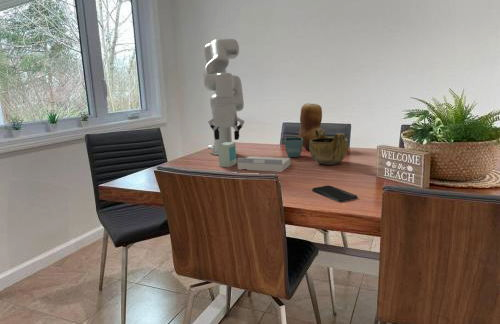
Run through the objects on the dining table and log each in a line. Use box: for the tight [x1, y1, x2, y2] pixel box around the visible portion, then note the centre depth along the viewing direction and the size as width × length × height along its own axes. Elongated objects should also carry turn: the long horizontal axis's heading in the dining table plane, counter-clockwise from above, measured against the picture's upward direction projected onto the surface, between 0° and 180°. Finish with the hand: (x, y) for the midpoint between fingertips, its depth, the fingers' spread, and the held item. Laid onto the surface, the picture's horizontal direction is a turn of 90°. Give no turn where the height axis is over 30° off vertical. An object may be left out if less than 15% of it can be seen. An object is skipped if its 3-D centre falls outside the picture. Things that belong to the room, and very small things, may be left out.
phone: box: [311, 185, 358, 203], centre depth 119 cm, size 8×1×15 cm
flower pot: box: [284, 137, 303, 158], centre depth 180 cm, size 9×9×9 cm
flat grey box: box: [237, 155, 291, 173], centre depth 160 cm, size 20×14×5 cm
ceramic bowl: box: [309, 128, 349, 166], centre depth 162 cm, size 22×17×15 cm
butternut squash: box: [297, 102, 323, 151], centre depth 196 cm, size 14×13×25 cm
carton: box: [218, 141, 237, 168], centre depth 166 cm, size 5×8×10 cm, turn 159°
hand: (226, 139), depth 164 cm, fingers open, 9 cm apart
